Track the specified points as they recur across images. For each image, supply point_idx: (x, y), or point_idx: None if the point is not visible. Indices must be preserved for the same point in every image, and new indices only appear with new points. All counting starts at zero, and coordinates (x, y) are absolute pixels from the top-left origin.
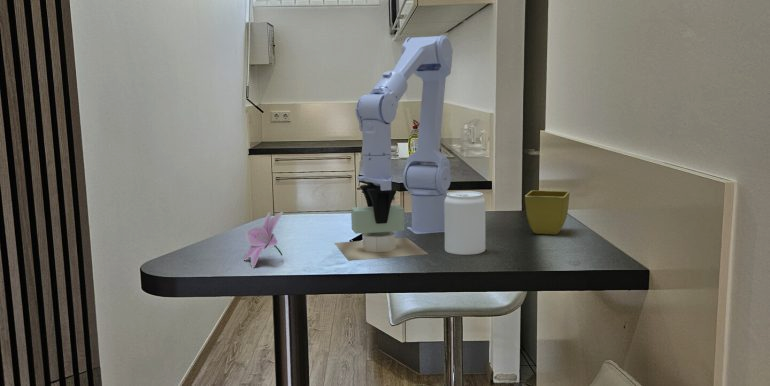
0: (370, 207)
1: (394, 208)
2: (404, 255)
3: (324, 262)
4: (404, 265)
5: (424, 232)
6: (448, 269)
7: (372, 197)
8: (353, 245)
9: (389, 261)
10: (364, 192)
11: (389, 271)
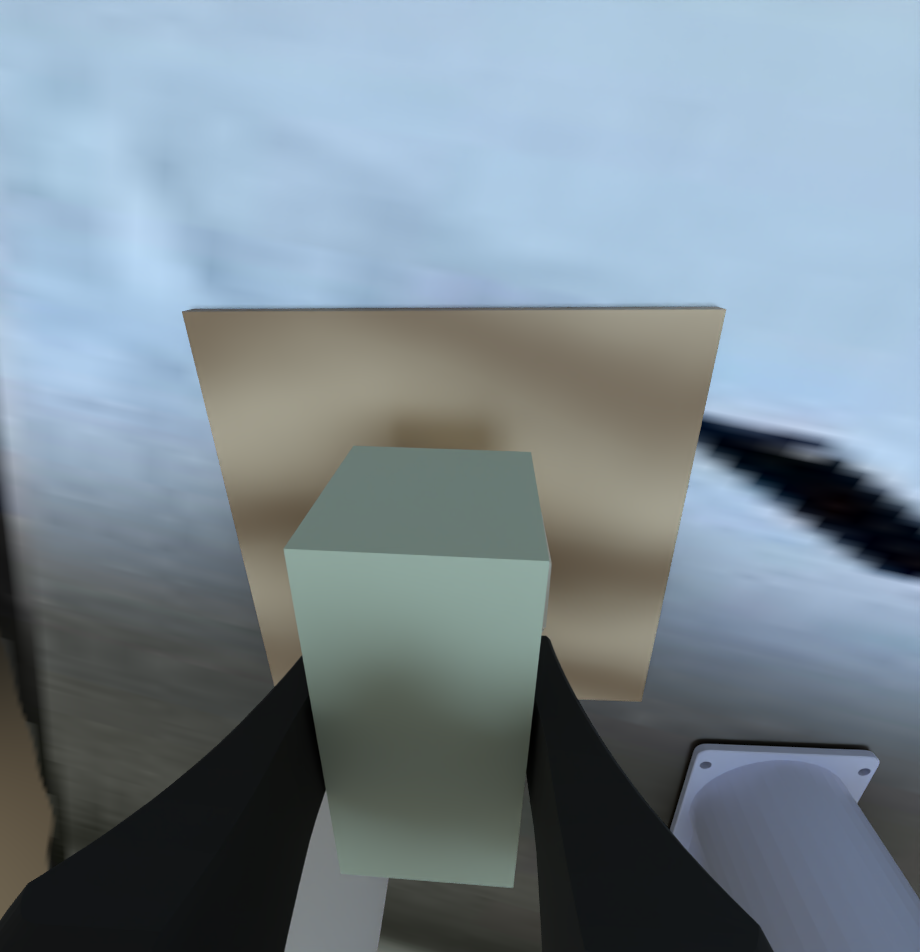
0: (476, 717)
1: (361, 836)
2: (263, 604)
3: (245, 145)
4: (142, 562)
5: (704, 782)
6: (75, 679)
7: (85, 847)
8: (582, 423)
9: (224, 523)
10: (569, 871)
11: (29, 478)
